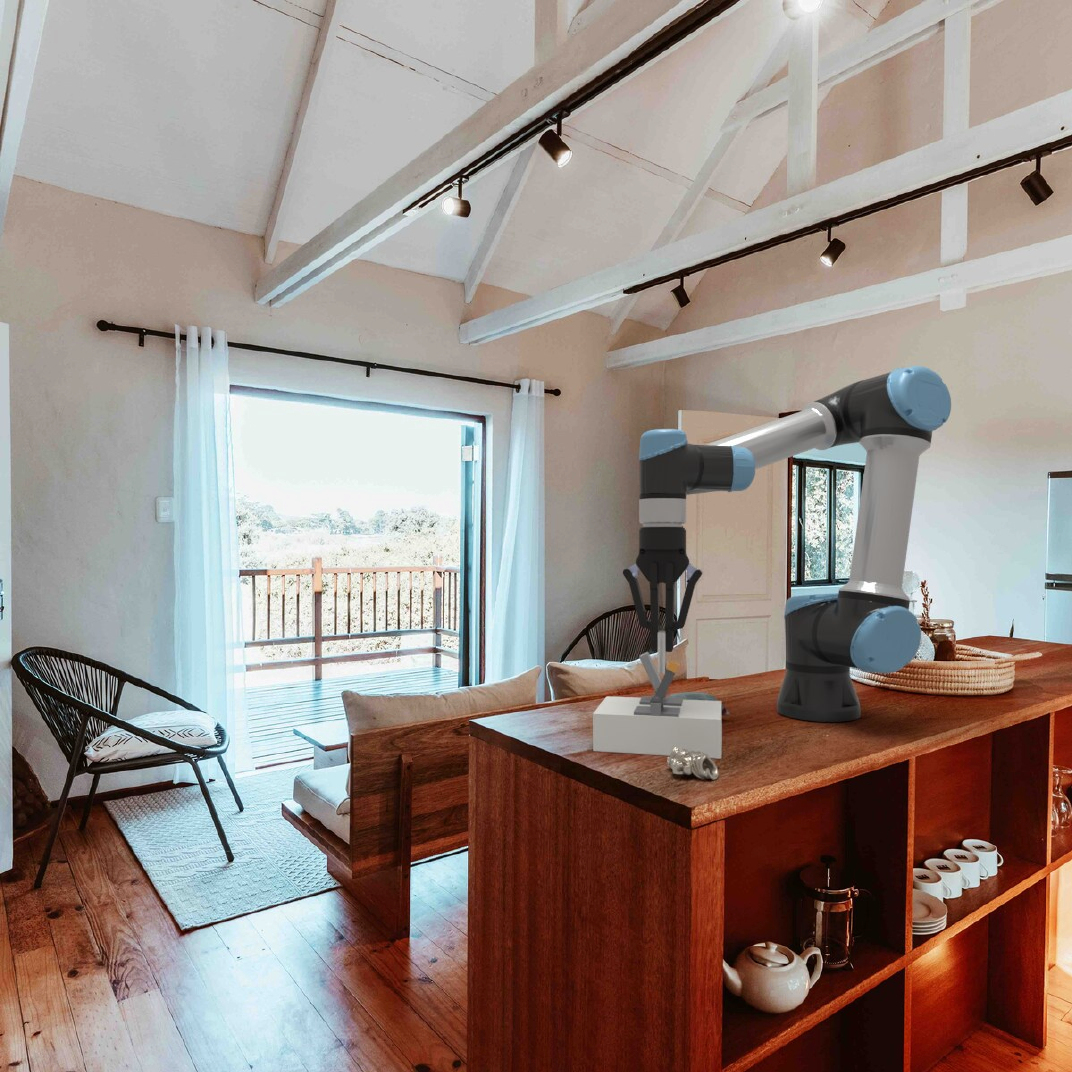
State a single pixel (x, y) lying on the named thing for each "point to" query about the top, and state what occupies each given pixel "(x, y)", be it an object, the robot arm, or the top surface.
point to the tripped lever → (665, 682)
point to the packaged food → (698, 698)
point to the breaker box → (657, 723)
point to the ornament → (692, 764)
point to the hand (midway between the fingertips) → (662, 671)
